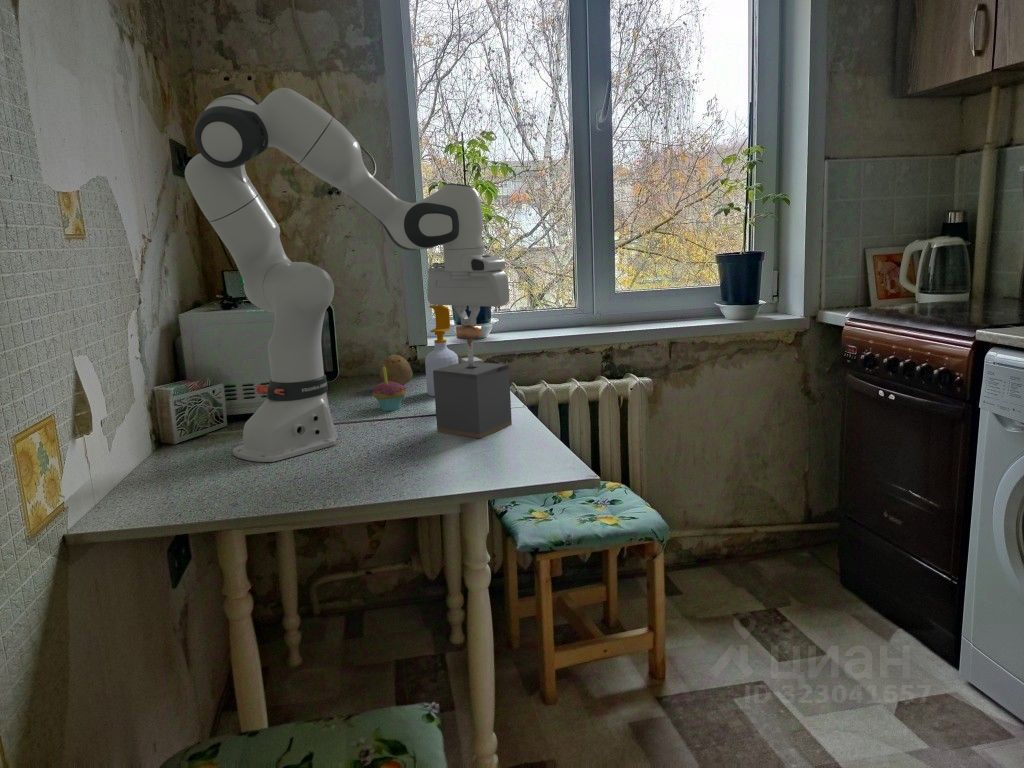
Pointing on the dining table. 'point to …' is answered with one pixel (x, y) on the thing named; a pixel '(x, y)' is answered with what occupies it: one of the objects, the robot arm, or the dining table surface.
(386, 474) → the dining table surface
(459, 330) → the plunger
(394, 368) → the natural sponge
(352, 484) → the dining table surface
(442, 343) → the soap bottle
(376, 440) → the dining table surface
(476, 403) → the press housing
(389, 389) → the cupcake
